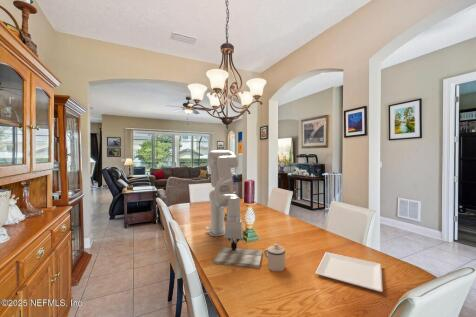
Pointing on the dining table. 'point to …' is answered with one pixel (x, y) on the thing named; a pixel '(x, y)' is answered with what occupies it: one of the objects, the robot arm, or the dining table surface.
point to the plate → (351, 271)
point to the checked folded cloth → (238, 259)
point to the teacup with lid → (275, 257)
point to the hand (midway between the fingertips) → (234, 249)
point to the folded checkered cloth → (241, 251)
